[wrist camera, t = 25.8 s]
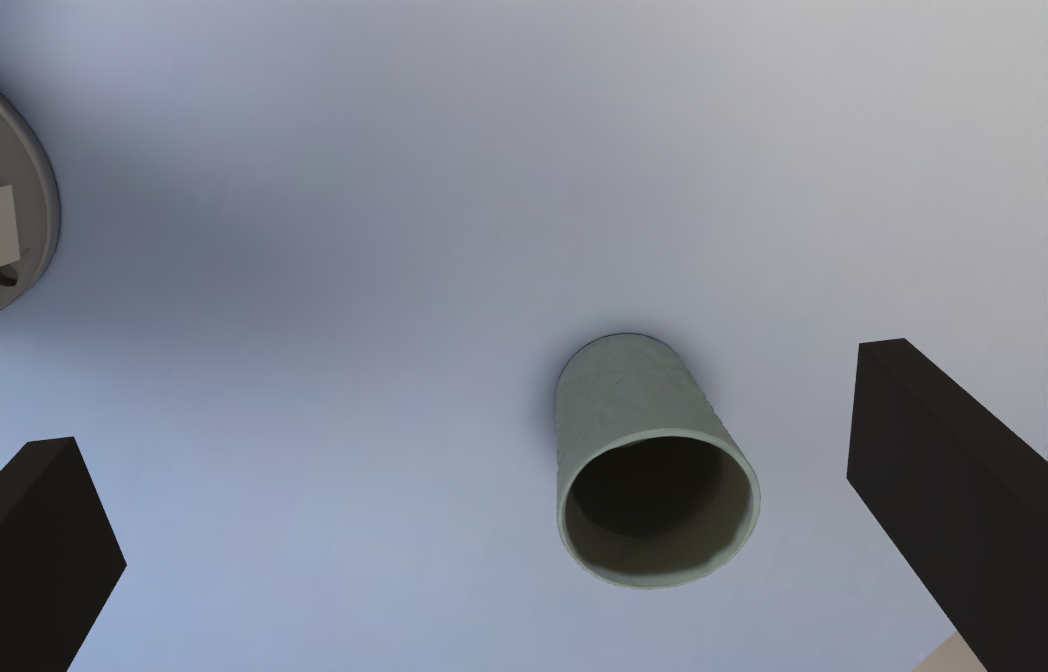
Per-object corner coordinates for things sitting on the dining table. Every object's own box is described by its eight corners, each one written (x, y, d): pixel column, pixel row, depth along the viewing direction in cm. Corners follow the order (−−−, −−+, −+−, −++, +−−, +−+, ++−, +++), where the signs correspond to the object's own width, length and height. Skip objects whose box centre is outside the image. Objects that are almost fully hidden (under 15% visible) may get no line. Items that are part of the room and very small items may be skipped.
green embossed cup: (730, 381, 50) (802, 497, 39) (625, 487, 53) (664, 622, 42) (611, 292, 47) (654, 391, 36) (506, 409, 50) (516, 534, 39)
